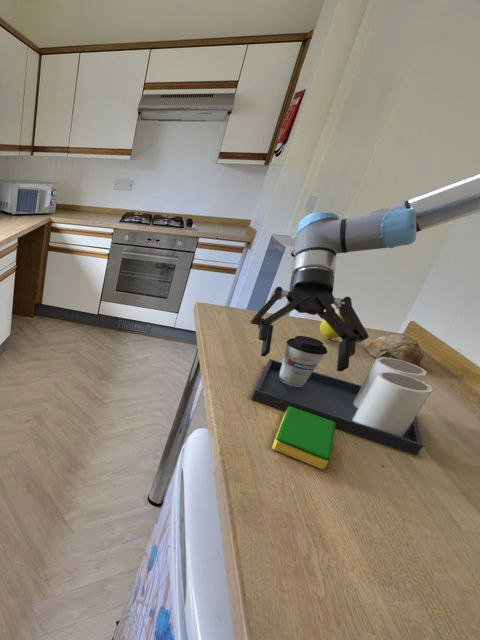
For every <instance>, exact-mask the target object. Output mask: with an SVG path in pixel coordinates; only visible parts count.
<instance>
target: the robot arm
mask: <svg viewBox="0 0 480 640" xmlns="http://www.w3.org/2000/svg"><path fill="white" fill-rule="evenodd" d="M479 213H480V173H477V174H475V175H471V176H469V177H467V178H463V179H461V180H459V181H456V182H453V183H450V184H448V185H444V186H442V187H439V188H437V189H433V190H431V191H429V192H426V193H423V194H420V195H418V196H415V197H412V198H409V199H408V200H405V201H401V202H399V203H396V204H393V205H390V206H388V207H384V208H381V209H377V210H375V211H373V212H371V213H370V214H366V215H360V216H356V217H355V216H354V217H350V218H341V219H340V217H339V215H337V214H336V213H334V212H331V211H328V212H323V211H317V212H313V213H310V214H308V215H306V216H305V217H303V218H302V219H301V220H300V221H299V222H298V223H299V224H298V226H297V232H296V233H295V234H296V235H295V245H294V252H293V253H294V255H293V261H292V268H291V276H290V283H289V290H285V289H283V288H282V286H277V287H275V288H274V290H273V291H272V293H271V295H270V298H269V300H268V301H267V302H266V303H265V304H264V305H263V306H262V307H261V308H260V310H258V312H257V313H256V314H255V315H254V316H253V318H252V319H251V320H250V324H252V325H256V326H257V328H258V329H259V330H258V335H257V336H258V340H259V341H262V345H261V353H260V356H261V357H266V356H267V355H268V354H270V352H271V346H272V338H273V330H274V325H273V323H275V322H277V321H278V320H279V319H281V318H283V317H284V316H285V315H288V314H289V313H291V312H293V311H294V310H295V311H296V312H297V313H299V314H308V315H310V316H311V315H313V316H316V315H317V316H318V317H319V318H320V319H322V320H325V321H326V322H327V323H328V324H329V325H330V326H331V328H332V329H333V330H334V331H335V332H336V333H337V334H338V335H339V336H340V337H339V338H340V339H341V341H340V342H338V353H337V365H336V371H337V372H343V371H345V370H347V369H349V366H350V358H351V357H352V356H354V355H355V354H356V347H357V345H356V343H357V344H359V343H362V342H364V341H366V339H368V338H369V337H370V336H369V334H368V332H367V330H366V328H365V327H364V325H363V323H362V321H361V320H360V318H359V316H358V315H357V313H356V311H355V309H354V307H353V305H352V303H353V302H352V298H351V297H350V296H344V297H343V298H341V297H340V298H338V297H335V296H334V286H335V273H336V264H337V255H338V254H346V253H352V252H361V251H370V250H381V249H388V248H389V249H393V248H397V247H403V246H409V245H412V244H413V243H415V242H416V240H417V233H419V232H421V231H424V230H427V229H431V228H434V227H437V226H440V225H444V224H446V223H447V224H448V223H450V222H453V221H456V220H459V219H462V218H465V217H470V216H472V215H475V214H479ZM283 298H286V300H287V301H288V302H289V303H288V304H286V305H285V306H283V307H282V308H280V309H278V310H276V312H274V313H272V314H271V315H268V317H266V318H263V316H265V314H266V313H267V312H268V311H269V310H270V309H271V308H272V307H273V306H274V305H275V304H276V302H277V301H278V300H282V299H283ZM332 305H334V306H335V308H334V307H333V306H332ZM336 309H337V310H338V312H336ZM337 313H340V315H341V316H342V318H343V320H344V321H343V320H342V319H341V318H340V317H339V316H338V315H337Z"/></svg>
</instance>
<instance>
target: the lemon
mask: <svg viewBox="0 0 480 640" xmlns="http://www.w3.org/2000/svg"><path fill="white" fill-rule="evenodd" d="M336 313H337V315H338V316H339V317H340V318H341V319H342V320H343V318H342V316H341V315H340V313H339V312H336ZM343 321H344V320H343ZM319 332H320V333H321V335H322V336H324V337H325V339H326V340H332V339H338V338H340V336H339V335H338V334H337V333H336V332H335V331H334V330H333V329H332V328H331V326H330V325H329V324H328V323H327V322H326V321H325V320H324V319H322V320H321V322H320V326H319Z"/></svg>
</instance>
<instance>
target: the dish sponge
mask: <svg viewBox="0 0 480 640" xmlns="http://www.w3.org/2000/svg"><path fill="white" fill-rule="evenodd" d="M335 426H336V423H335V422H334V421H331V420H328V419H325V418H322V417H319V416H316V415H313V414H311V413H308V412H305V411H302V410H299V409H296V408H293V407H288V408H287V411H285V413H284V414H283V418H282V420H281V422H280V426H279V428H278V431H277V433H276V436H275V438H274V440H273V443H272V446H271V449H273V450H274V451H276V452H279V453H281V454H283V455H286V456H289V457H291V458H294V459H296V460H298V461H301V462H303V463H306V464H308V465H311V466H314V467H316V468H318V469H320V470H325V469H326V468H327V465H328V464H329V461H330V460H331V455H332V449H333V444H334V438H335V432H336V428H335Z"/></svg>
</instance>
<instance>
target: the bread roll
mask: <svg viewBox="0 0 480 640" xmlns="http://www.w3.org/2000/svg"><path fill="white" fill-rule="evenodd" d="M366 349H367V352H368V353H369V354H370V355H371V356H372V357H374V358H375V359H377V358H379V357H386V358H393V359H398V360H402V361H406V362H409V363H411V364H414V365H416V366H418V365H419V364H421V362H422V361H423V359H424V357H425V352H424V349H423V347H421V346H420V344H419V343H418V342H417V341H416V340H414V339H413V338H412V337H410V336H407V335H403V334H392V335H383V336H377V337H376V338H374V339H372V340H371V342H370V343H369V344H368V346H367V348H366Z"/></svg>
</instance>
